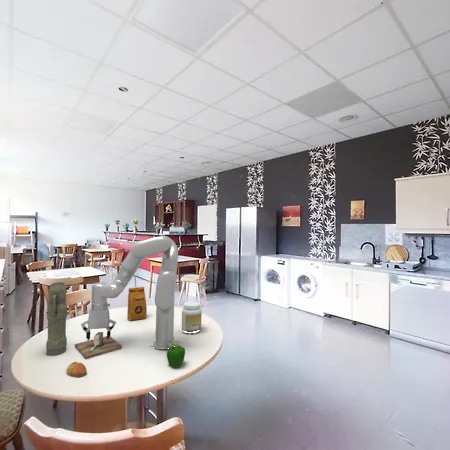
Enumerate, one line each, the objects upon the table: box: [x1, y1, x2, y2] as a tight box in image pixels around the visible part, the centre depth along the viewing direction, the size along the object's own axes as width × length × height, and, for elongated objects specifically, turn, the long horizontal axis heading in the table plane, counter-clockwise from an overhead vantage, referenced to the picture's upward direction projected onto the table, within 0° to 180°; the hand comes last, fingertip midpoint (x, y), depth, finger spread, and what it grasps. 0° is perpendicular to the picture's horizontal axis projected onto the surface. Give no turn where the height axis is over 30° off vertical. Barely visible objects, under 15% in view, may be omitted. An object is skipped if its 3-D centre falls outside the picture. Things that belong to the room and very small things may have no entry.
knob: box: [91, 331, 104, 351], centre depth 145 cm, size 12×6×6 cm, turn 2°
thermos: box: [45, 282, 68, 357], centre depth 142 cm, size 9×12×35 cm
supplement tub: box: [181, 301, 202, 332], centre depth 174 cm, size 12×12×17 cm
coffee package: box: [126, 286, 148, 321], centre depth 194 cm, size 10×12×22 cm
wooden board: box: [74, 335, 123, 360], centre depth 148 cm, size 18×18×2 cm
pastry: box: [65, 361, 87, 378], centre depth 123 cm, size 9×7×4 cm
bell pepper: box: [166, 343, 186, 368], centre depth 132 cm, size 8×8×10 cm
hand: (98, 338), depth 148 cm, fingers open, 9 cm apart
